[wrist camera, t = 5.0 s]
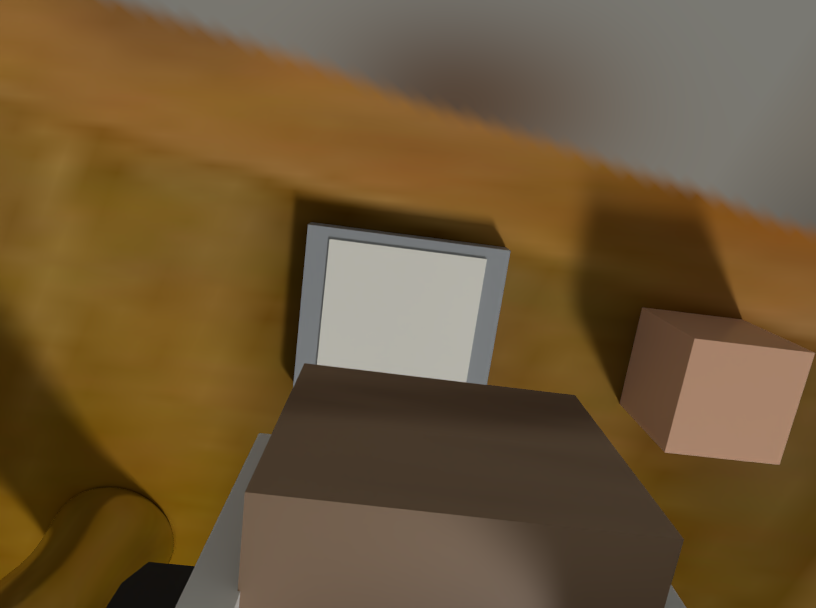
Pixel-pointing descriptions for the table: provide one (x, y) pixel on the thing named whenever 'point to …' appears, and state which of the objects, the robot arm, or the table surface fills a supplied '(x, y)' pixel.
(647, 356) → the terracotta cube
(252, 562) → the walnut block
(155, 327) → the table surface
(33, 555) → the beer glass
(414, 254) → the slate picture frame
